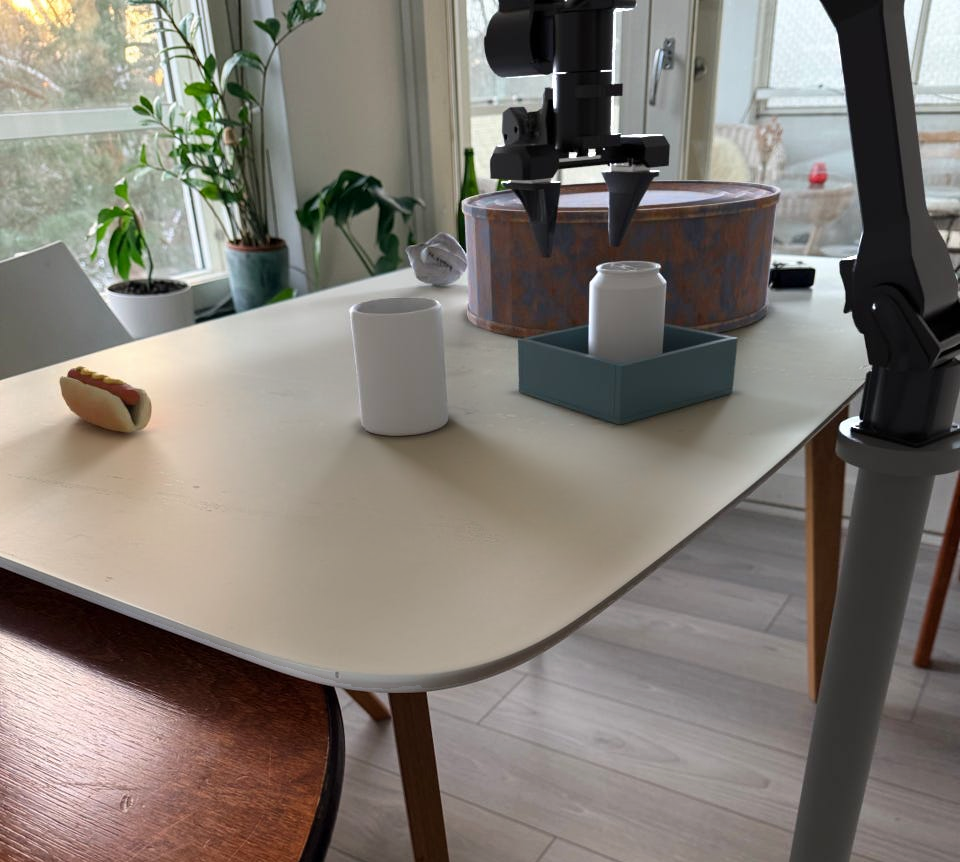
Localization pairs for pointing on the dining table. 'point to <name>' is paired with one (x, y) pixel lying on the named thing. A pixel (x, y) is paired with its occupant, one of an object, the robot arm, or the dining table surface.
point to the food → (105, 400)
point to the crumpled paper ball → (438, 260)
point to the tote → (626, 373)
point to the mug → (400, 365)
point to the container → (623, 255)
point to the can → (626, 311)
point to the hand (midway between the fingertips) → (581, 252)
